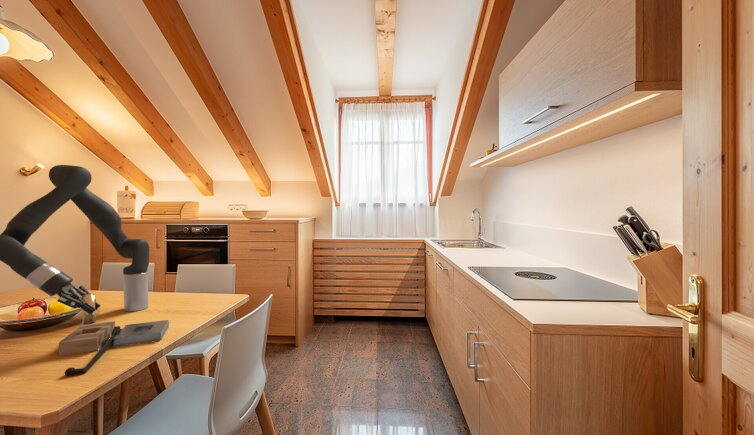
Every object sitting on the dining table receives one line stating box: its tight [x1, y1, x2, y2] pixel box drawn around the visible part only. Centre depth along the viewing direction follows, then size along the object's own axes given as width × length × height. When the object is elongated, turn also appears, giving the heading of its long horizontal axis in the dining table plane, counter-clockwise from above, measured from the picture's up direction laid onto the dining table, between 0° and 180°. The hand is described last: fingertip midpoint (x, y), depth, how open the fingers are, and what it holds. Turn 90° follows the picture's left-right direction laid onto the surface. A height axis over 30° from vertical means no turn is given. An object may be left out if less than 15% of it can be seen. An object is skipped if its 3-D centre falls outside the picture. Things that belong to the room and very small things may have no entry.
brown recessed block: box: [58, 320, 116, 357], centre depth 115 cm, size 17×10×4 cm, turn 23°
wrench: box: [64, 326, 123, 377], centre depth 108 cm, size 5×5×30 cm
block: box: [113, 319, 170, 348], centre depth 122 cm, size 14×14×3 cm
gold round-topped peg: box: [81, 293, 97, 325], centre depth 115 cm, size 4×4×10 cm
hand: (95, 309), depth 116 cm, fingers closed on gold round-topped peg, 3 cm apart
